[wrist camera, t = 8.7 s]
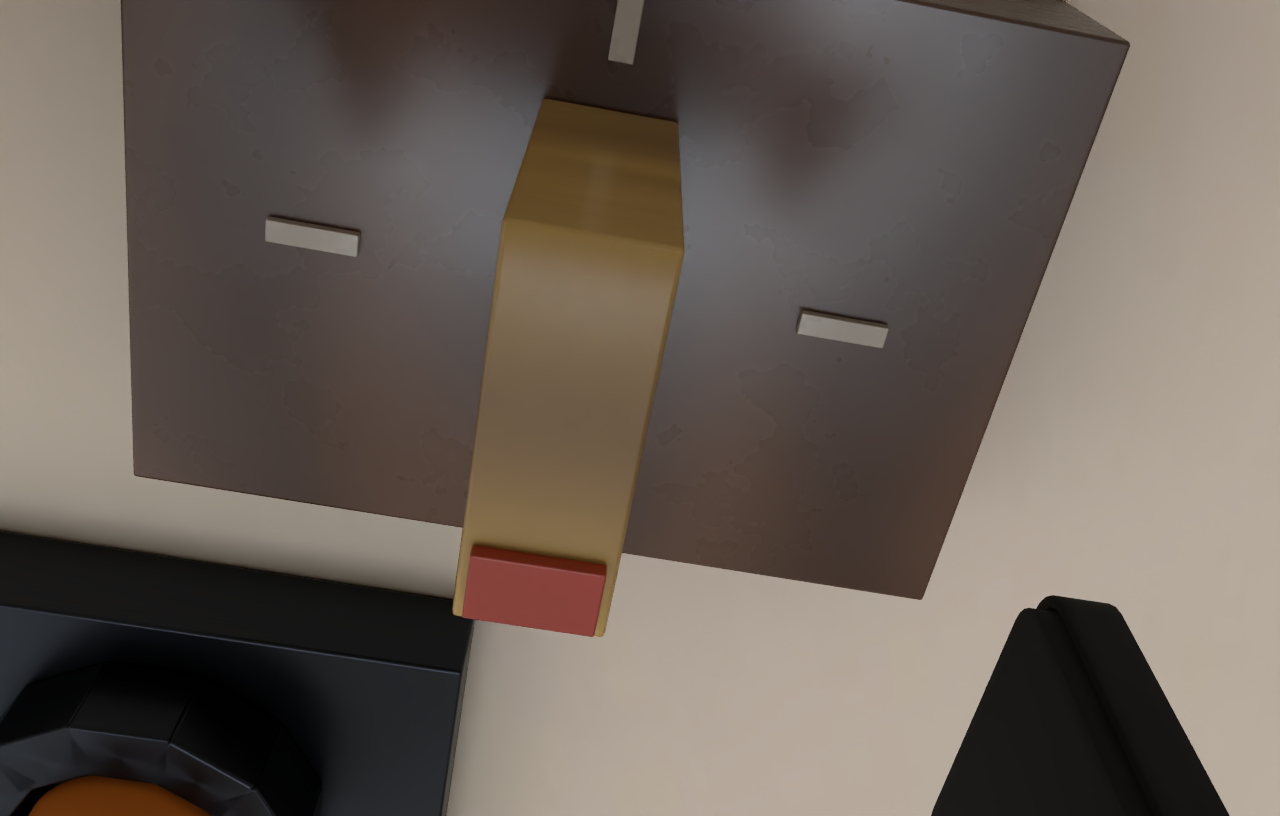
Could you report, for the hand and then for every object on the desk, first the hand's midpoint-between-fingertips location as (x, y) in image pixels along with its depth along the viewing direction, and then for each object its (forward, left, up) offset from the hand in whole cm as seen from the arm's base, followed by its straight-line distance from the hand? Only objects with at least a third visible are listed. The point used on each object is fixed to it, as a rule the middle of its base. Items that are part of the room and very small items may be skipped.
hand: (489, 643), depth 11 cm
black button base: (-7, -14, -12) cm, 19 cm away
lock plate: (0, 0, -12) cm, 12 cm away
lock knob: (0, 0, -9) cm, 9 cm away
